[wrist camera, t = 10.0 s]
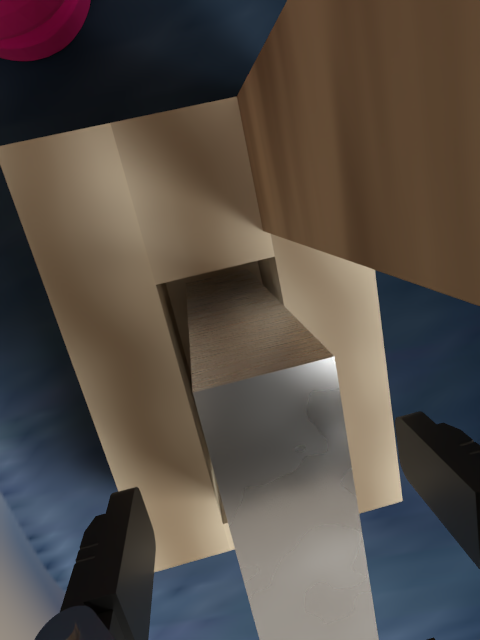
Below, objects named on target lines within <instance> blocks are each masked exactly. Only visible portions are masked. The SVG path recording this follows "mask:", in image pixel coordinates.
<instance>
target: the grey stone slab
mask: <svg viewBox="0 0 480 640" xmlns="http://www.w3.org/2000/svg"><path fill="white" fill-rule="evenodd" d="M186 294H187V310H188V327H189V343H190V359H191V375H192V391H193V396H194V400H195V403H196V407H197V411H198V414H199V418H200V422H201V425H202V429H203V433H204V436H205V440H206V444H207V447H208V451H209V455H210V459H211V462H212V466H213V470H214V473H215V477H216V481H217V484H218V488H219V492H220V495H221V499H222V503H223V506H224V510H225V514H226V517H227V521H228V525H229V528H230V532H231V536H232V539H233V543H234V547H235V550H236V554H237V558H238V562H239V565H240V569H241V573H242V576H243V580H244V584H245V587H246V591H247V595H248V598H249V602H250V606H251V609H252V613H253V617H254V620H255V624H256V628H257V631H258V635H259V639H260V640H379V639H378V632H377V626H376V620H375V613H374V607H373V600H372V594H371V587H370V581H369V575H368V568H367V562H366V555H365V549H364V542H363V536H362V530H361V523H360V517H359V510H358V504H357V498H356V491H355V485H354V478H353V472H352V465H351V459H350V453H349V446H348V440H347V433H346V427H345V421H344V414H343V408H342V401H341V395H340V388H339V382H338V376H337V369H336V363H335V356H334V355H333V354H332V353H331V352H330V351H329V350H328V349H327V348H326V347H325V346H324V345H323V344H322V343H321V342H320V341H319V340H318V339H317V338H316V337H315V336H314V335H313V334H312V333H311V332H310V331H309V330H308V329H307V328H306V327H305V326H304V325H303V324H302V323H301V322H300V321H299V320H298V319H297V318H296V317H295V316H294V315H293V314H292V313H291V312H290V311H289V310H288V309H287V308H286V307H285V306H284V305H283V304H282V303H281V302H280V301H279V300H278V299H277V298H276V297H275V296H274V295H273V294H272V293H271V292H270V291H269V290H268V289H267V288H266V287H265V286H264V285H263V284H262V283H261V282H260V281H259V280H258V279H257V278H256V277H255V276H254V275H253V274H252V273H251V272H250V271H249V270H248V269H244V270H240V271H236V272H232V273H227V274H223V275H219V276H215V277H210V278H206V279H202V280H198V281H193V282H189V283H186Z"/></svg>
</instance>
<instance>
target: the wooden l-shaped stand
mask: <svg viewBox="0 0 480 640" xmlns="http://www.w3.org/2000/svg"><path fill="white" fill-rule="evenodd" d="M0 165H1V168H2V171H3V174H4V176H5V179H6V182H7V185H8V187H9V190H10V193H11V196H12V198H13V201H14V204H15V207H16V209H17V212H18V215H19V218H20V221H21V223H22V226H23V229H24V232H25V234H26V237H27V240H28V243H29V245H30V248H31V251H32V254H33V256H34V259H35V262H36V265H37V267H38V270H39V273H40V276H41V279H42V281H43V284H44V287H45V290H46V292H47V295H48V298H49V301H50V303H51V306H52V309H53V312H54V314H55V317H56V320H57V323H58V325H59V328H60V331H61V334H62V337H63V339H64V342H65V345H66V348H67V350H68V353H69V356H70V359H71V361H72V364H73V367H74V370H75V372H76V375H77V378H78V381H79V384H80V386H81V389H82V392H83V395H84V397H85V400H86V403H87V406H88V408H89V411H90V414H91V417H92V419H93V422H94V425H95V428H96V430H97V433H98V436H99V439H100V442H101V444H102V447H103V450H104V453H105V455H106V458H107V461H108V464H109V466H110V469H111V472H112V475H113V477H114V480H115V483H116V486H117V488H118V491H122V490H126V489H130V488H134V487H138V488H139V490H140V492H141V495H142V498H143V501H144V503H145V506H146V509H147V512H148V515H149V518H150V521H151V524H152V527H153V530H154V535H155V542H156V554H155V566H154V572H157V571H161V570H164V569H168V568H171V567H175V566H178V565H181V564H185V563H188V562H192V561H195V560H199V559H202V558H206V557H209V556H213V555H216V554H220V553H223V552H227V551H230V550H234V549H235V547H234V543H233V539H232V536H231V532H230V528H229V525H228V521H227V517H226V514H225V510H224V506H223V503H222V499H221V495H220V492H219V488H218V484H217V481H216V477H215V473H214V470H213V466H212V462H211V459H210V455H209V451H208V447H207V444H206V440H205V436H204V433H203V429H202V425H201V422H200V418H199V414H198V411H197V407H196V403H195V400H194V396H193V391H192V375H191V359H190V343H189V327H188V310H187V294H186V283H189V282H193V281H198V280H202V279H206V278H210V277H215V276H219V275H223V274H227V273H232V272H236V271H240V270H244V269H248V270H249V271H250V272H251V273H252V274H253V275H254V276H255V277H256V278H257V279H258V280H259V281H260V282H261V283H262V284H263V285H264V286H265V287H266V288H267V289H268V290H269V291H270V292H271V293H272V294H273V295H274V296H275V297H276V298H277V299H278V300H279V301H280V302H281V303H282V304H283V305H284V306H285V307H286V308H287V309H288V310H289V311H290V312H291V313H292V314H293V315H294V316H295V317H296V318H297V319H298V320H299V321H300V322H301V323H302V324H303V325H304V326H305V327H306V328H307V329H308V330H309V331H310V332H311V333H312V334H313V335H314V336H315V337H316V338H317V339H318V340H319V341H320V342H321V343H322V344H323V345H324V346H325V347H326V348H327V349H328V350H329V351H330V352H331V353H332V354H333V355H334V356H335V363H336V369H337V376H338V382H339V388H340V395H341V401H342V408H343V414H344V421H345V427H346V433H347V440H348V446H349V453H350V459H351V465H352V472H353V478H354V485H355V491H356V498H357V504H358V510H359V513H363V512H366V511H370V510H373V509H377V508H380V507H384V506H387V505H391V504H394V503H398V502H401V501H403V500H402V492H401V483H400V475H399V467H398V458H397V450H396V442H395V434H394V425H393V417H392V409H391V400H390V392H389V384H388V375H387V367H386V359H385V350H384V342H383V334H382V326H381V317H380V309H379V301H378V292H377V284H376V276H375V270H377V271H380V272H383V273H386V274H389V275H391V276H394V277H397V278H400V279H403V280H406V281H409V282H412V283H415V284H417V285H420V286H423V287H426V288H429V289H432V290H435V291H438V292H441V293H444V294H446V295H449V296H452V297H455V298H458V299H461V300H464V301H467V302H470V303H472V304H475V305H478V306H480V0H287V2H286V4H285V6H284V8H283V10H282V12H281V13H280V15H279V17H278V19H277V21H276V23H275V25H274V27H273V29H272V31H271V32H270V34H269V36H268V38H267V40H266V42H265V44H264V46H263V48H262V50H261V51H260V53H259V55H258V57H257V59H256V61H255V63H254V65H253V67H252V69H251V70H250V72H249V74H248V76H247V78H246V80H245V82H244V84H243V86H242V88H241V89H240V91H239V93H238V95H237V97H232V98H227V99H222V100H218V101H213V102H208V103H203V104H198V105H194V106H189V107H184V108H179V109H175V110H170V111H165V112H160V113H155V114H151V115H146V116H141V117H136V118H132V119H127V120H122V121H117V122H112V123H108V124H103V125H98V126H93V127H89V128H84V129H79V130H74V131H69V132H65V133H60V134H55V135H50V136H46V137H41V138H36V139H31V140H26V141H22V142H17V143H12V144H7V145H3V146H0Z"/></svg>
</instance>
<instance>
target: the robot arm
mask: <svg viewBox="0 0 480 640" xmlns="http://www.w3.org/2000/svg"><path fill="white" fill-rule="evenodd" d="M395 427H396V435H397V443H398V451H399V459H400V464H401V467H402V470H403V472H404V474H405V476H406V478H407V480H408V481H409V482H410V484H411V485H412V486H413V487H414V489H415V490H416V491H417V492H418V494H419V495H420V496H421V497H422V499H423V500H424V501H425V502H426V504H427V505H428V506H429V507H430V509H431V510H432V511H433V512H434V513H435V515H436V516H437V517H438V518H439V520H440V521H441V522H442V523H443V525H444V526H445V527H446V528H447V530H448V531H449V532H450V533H451V535H452V536H453V537H454V538H455V540H456V541H457V542H458V543H459V545H460V546H461V547H462V548H463V549H464V551H465V552H466V553H467V554H468V556H469V557H470V558H471V559H472V561H473V562H474V563H475V564H476V566H477V567H478V568H479V569H480V445H479V444H477V443H476V442H474V441H473V440H472V439H471V438H470V437H469V436H468V435H466V434H465V433H464V432H463V431H461V430H460V429H457V428H455V427H452V426H450V425H448V424H445V423H441V424H435V423H434V422H433V421H432V420H431V419H430V418H429V417H427V416H426V415H425V414H424V413H423V412H420V411H419V412H416V413H412V414H408V415H404V416H401V417H397V418H396V420H395ZM155 554H156V542H155V535H154V530H153V527H152V524H151V521H150V518H149V515H148V512H147V509H146V506H145V503H144V501H143V498H142V495H141V492H140V490H139V488H138V487H134V488H130V489H126V490H122V491H119V492H115V493H112V494H111V496H110V499H109V503H108V507H107V511H106V514H102V515H98V516H96V517H95V518H94V520H93V521H92V522H91V524H90V525H89V526H88V528H87V529H86V530H85V532H84V535H83V539H82V542H81V545H80V550H79V552H78V555H77V558H76V564H75V565H74V568H73V571H72V574H71V578H70V581H69V584H68V587H67V591H66V594H65V597H64V601H63V604H62V607H61V610H60V613H58V614H57V615H55V616H54V617H53V618H52V619H51V620H49V621H48V622H47V623H46V624H45V626H44V627H43V628H42V629H41V630H40V632H39V633H38V635H37V636H36V638H35V640H148V636H149V624H150V613H151V601H152V589H153V578H154V566H155ZM427 640H435V639H434V638H431V639H427Z"/></svg>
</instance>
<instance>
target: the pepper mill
mask: <svg viewBox="0 0 480 640" xmlns="http://www.w3.org/2000/svg"><path fill="white" fill-rule="evenodd" d="M90 2H91V0H0V58H3V59H8V60H13V61H34V60H38V59H42V58H46V57H49V56H51V55H53V54H55V53H57V52H59V51H60V50H62V49H63V48H64V47H66V46H67V45H68V44H69V43H70V42H71V41H72V40H73V39H74V38H75V36H76V35H77V34H78V32H79V31H80V29H81V28H82V26H83V24H84V21H85V19H86V17H87V14H88V11H89V7H90Z"/></svg>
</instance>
